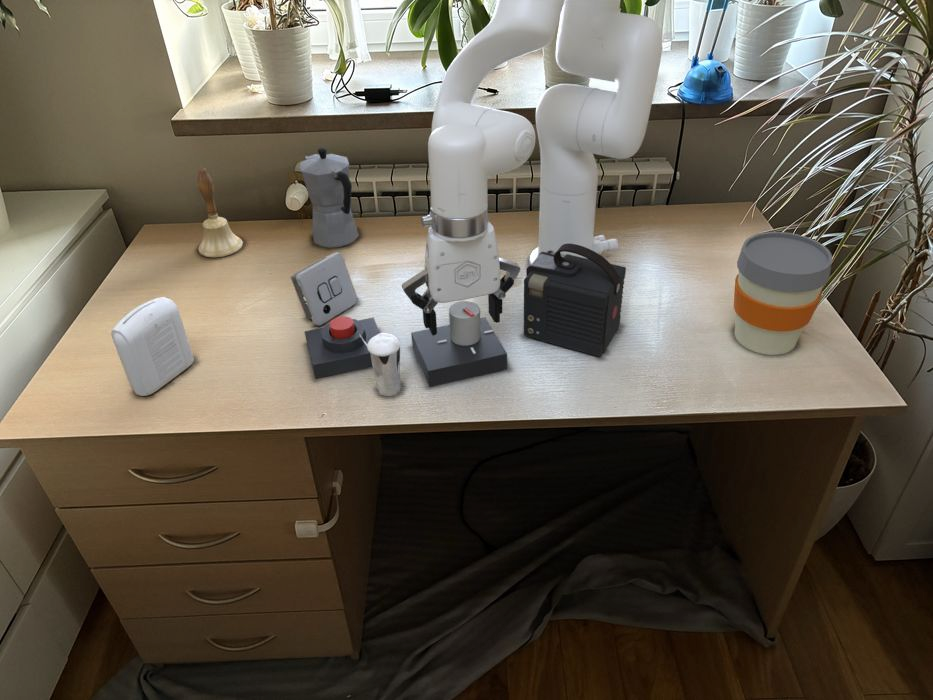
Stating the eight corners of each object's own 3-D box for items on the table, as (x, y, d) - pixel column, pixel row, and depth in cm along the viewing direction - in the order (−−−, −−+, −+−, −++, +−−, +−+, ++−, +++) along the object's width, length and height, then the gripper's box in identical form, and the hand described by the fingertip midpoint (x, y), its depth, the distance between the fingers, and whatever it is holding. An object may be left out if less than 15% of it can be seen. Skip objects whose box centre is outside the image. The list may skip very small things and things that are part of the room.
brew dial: (444, 334, 113) (442, 305, 110) (470, 324, 115) (469, 295, 112) (460, 349, 110) (459, 320, 107) (486, 339, 112) (486, 309, 109)
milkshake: (368, 380, 110) (360, 325, 104) (404, 378, 110) (398, 322, 104) (367, 401, 106) (359, 345, 100) (405, 398, 106) (399, 342, 100)
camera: (544, 302, 125) (547, 221, 116) (624, 322, 119) (634, 239, 110) (517, 337, 117) (517, 253, 108) (602, 360, 112) (610, 274, 103)
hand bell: (235, 232, 148) (216, 156, 138) (248, 249, 142) (229, 171, 133) (193, 244, 145) (171, 167, 135) (205, 262, 139) (183, 182, 129)
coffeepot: (298, 232, 147) (281, 144, 136) (340, 217, 152) (327, 131, 141) (336, 262, 137) (321, 170, 126) (380, 246, 142) (369, 156, 131)
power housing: (375, 330, 120) (372, 307, 117) (387, 363, 113) (384, 339, 110) (307, 344, 117) (302, 321, 115) (315, 379, 111) (310, 355, 108)
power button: (352, 323, 114) (351, 314, 113) (357, 336, 112) (355, 327, 111) (329, 328, 114) (327, 318, 113) (333, 341, 111) (331, 332, 110)
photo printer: (179, 353, 117) (157, 286, 109) (199, 361, 115) (178, 293, 108) (127, 392, 110) (99, 323, 102) (148, 400, 108) (121, 331, 100)
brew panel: (485, 331, 119) (484, 314, 117) (507, 369, 111) (507, 352, 109) (411, 346, 116) (410, 330, 114) (429, 387, 108) (427, 370, 106)
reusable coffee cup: (808, 369, 108) (835, 281, 99) (718, 353, 112) (737, 267, 103) (808, 321, 118) (833, 237, 109) (726, 308, 121) (743, 226, 112)
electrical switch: (318, 329, 121) (305, 278, 116) (297, 320, 124) (284, 271, 119) (359, 303, 127) (348, 253, 121) (338, 295, 129) (327, 247, 124)
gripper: (404, 242, 96) (413, 349, 106) (530, 221, 100) (527, 326, 110) (391, 217, 101) (400, 321, 112) (510, 198, 105) (509, 300, 116)
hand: (463, 323), depth 111 cm, fingers open, 9 cm apart
